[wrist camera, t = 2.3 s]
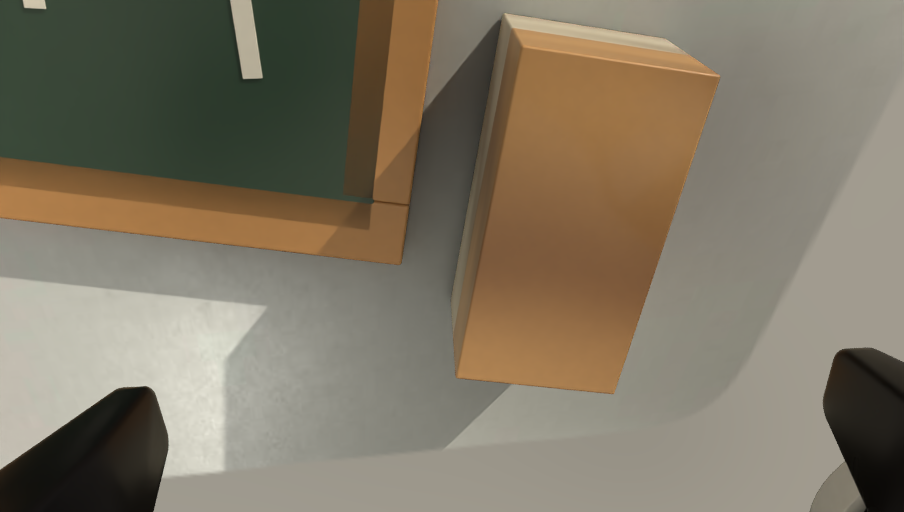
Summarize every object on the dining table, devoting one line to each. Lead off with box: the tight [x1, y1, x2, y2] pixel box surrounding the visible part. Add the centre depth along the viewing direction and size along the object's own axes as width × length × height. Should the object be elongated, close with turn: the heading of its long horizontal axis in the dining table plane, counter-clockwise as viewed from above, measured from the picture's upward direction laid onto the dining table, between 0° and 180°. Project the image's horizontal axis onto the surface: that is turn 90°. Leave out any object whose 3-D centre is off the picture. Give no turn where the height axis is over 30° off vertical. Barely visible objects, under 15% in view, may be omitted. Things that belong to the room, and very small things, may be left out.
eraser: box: [451, 13, 720, 394], centre depth 19 cm, size 9×4×4 cm, turn 171°
